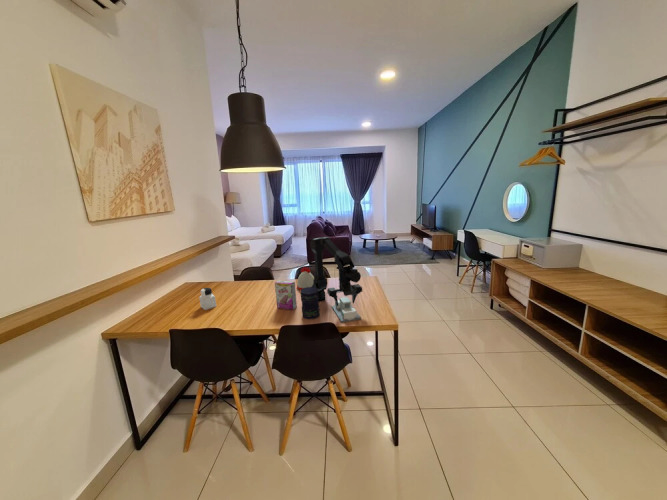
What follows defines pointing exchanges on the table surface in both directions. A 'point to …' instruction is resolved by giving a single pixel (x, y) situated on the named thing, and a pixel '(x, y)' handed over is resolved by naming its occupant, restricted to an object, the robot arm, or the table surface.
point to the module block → (345, 303)
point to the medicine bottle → (207, 299)
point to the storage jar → (310, 303)
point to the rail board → (339, 314)
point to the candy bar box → (285, 294)
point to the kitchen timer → (305, 279)
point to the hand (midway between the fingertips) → (345, 304)
